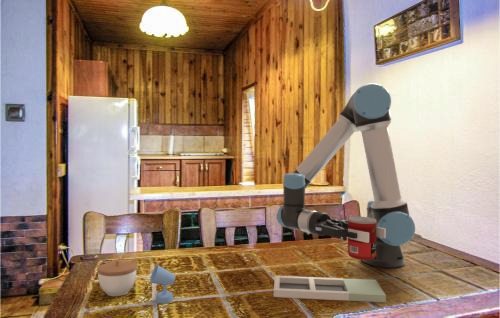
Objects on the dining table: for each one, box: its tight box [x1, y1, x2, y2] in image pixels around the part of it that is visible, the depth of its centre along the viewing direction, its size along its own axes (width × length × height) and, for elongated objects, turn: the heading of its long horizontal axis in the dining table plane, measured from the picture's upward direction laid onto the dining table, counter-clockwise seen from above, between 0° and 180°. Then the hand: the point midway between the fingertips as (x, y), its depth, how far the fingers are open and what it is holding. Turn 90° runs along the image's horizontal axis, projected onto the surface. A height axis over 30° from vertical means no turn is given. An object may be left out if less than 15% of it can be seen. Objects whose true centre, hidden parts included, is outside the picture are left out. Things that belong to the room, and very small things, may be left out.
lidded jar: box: [97, 259, 138, 297], centre depth 108 cm, size 11×11×9 cm
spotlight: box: [149, 264, 176, 304], centre depth 102 cm, size 5×10×7 cm
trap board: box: [273, 275, 387, 303], centre depth 109 cm, size 31×12×2 cm, turn 84°
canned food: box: [347, 216, 377, 261], centre depth 108 cm, size 8×8×11 cm
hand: (376, 235), depth 104 cm, fingers closed on canned food, 8 cm apart
